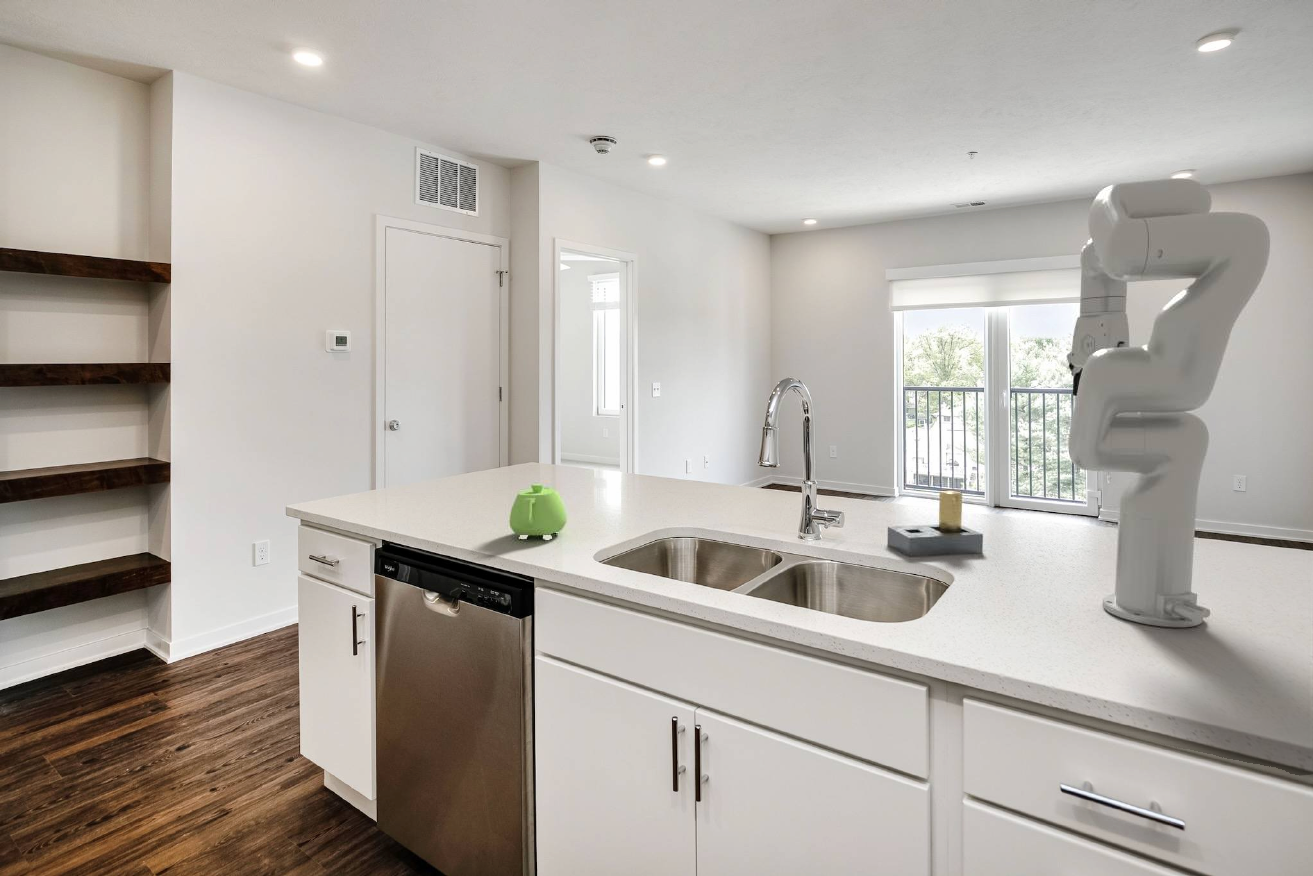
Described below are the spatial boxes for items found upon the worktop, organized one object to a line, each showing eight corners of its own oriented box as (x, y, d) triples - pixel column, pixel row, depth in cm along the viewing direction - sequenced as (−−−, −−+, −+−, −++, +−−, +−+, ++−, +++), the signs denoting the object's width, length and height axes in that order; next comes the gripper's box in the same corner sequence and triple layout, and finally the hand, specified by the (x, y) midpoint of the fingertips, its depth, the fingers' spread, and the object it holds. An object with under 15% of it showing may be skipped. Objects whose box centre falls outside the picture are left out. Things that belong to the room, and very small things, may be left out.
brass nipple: (945, 551, 144) (946, 495, 143) (934, 545, 149) (935, 491, 147) (964, 550, 145) (966, 494, 143) (953, 545, 149) (955, 490, 148)
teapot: (525, 526, 176) (523, 477, 175) (576, 526, 174) (574, 477, 173) (498, 546, 156) (496, 491, 155) (555, 546, 155) (553, 491, 153)
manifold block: (982, 553, 142) (982, 534, 142) (909, 556, 140) (909, 537, 140) (956, 541, 152) (956, 523, 152) (887, 544, 150) (887, 526, 150)
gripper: (1054, 312, 141) (1051, 395, 142) (1119, 304, 123) (1115, 398, 125) (1087, 311, 141) (1084, 394, 143) (1157, 303, 124) (1152, 397, 126)
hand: (1098, 396), depth 134 cm, fingers open, 9 cm apart
